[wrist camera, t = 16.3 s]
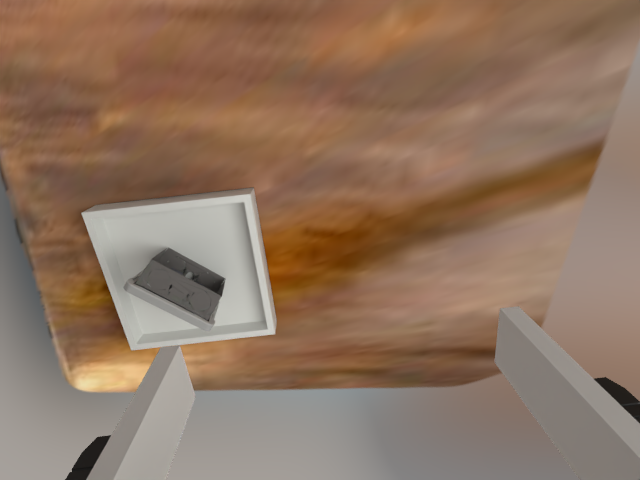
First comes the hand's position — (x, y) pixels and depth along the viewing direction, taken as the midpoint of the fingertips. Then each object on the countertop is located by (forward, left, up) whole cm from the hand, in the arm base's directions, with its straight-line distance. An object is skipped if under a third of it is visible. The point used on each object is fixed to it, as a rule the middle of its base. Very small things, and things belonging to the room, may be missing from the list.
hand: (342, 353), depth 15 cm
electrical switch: (+16, +8, -28) cm, 33 cm away
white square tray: (+16, +8, -29) cm, 34 cm away
